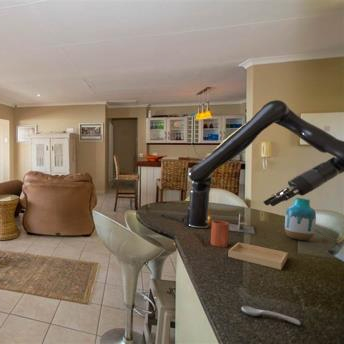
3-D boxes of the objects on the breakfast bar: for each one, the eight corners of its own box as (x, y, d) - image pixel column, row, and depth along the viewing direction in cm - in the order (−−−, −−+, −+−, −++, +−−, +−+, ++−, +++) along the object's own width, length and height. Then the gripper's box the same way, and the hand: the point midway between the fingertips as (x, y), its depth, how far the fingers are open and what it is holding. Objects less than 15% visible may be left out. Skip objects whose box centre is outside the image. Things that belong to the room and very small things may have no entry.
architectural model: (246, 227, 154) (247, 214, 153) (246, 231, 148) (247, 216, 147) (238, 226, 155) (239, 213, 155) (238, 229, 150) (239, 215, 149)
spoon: (239, 308, 77) (241, 301, 76) (296, 323, 72) (298, 316, 72) (242, 314, 74) (243, 307, 74) (301, 330, 69) (302, 322, 69)
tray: (228, 256, 113) (228, 250, 113) (237, 248, 123) (238, 242, 123) (281, 269, 102) (281, 262, 101) (287, 259, 111) (287, 252, 111)
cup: (208, 244, 127) (209, 222, 127) (213, 241, 132) (214, 219, 131) (224, 248, 123) (226, 225, 122) (229, 244, 127) (230, 222, 126)
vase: (306, 237, 138) (310, 197, 137) (319, 244, 129) (323, 201, 127) (279, 234, 142) (282, 196, 140) (289, 241, 132) (293, 200, 130)
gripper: (292, 175, 126) (256, 196, 131) (306, 173, 114) (265, 196, 118) (306, 189, 124) (269, 210, 129) (321, 189, 111) (279, 212, 116)
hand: (267, 204), depth 124 cm, fingers open, 8 cm apart
